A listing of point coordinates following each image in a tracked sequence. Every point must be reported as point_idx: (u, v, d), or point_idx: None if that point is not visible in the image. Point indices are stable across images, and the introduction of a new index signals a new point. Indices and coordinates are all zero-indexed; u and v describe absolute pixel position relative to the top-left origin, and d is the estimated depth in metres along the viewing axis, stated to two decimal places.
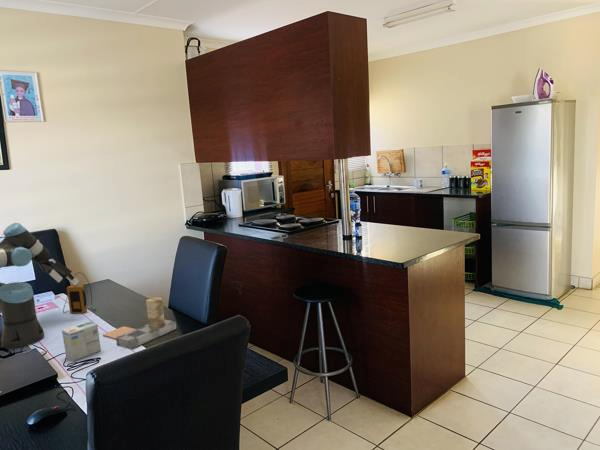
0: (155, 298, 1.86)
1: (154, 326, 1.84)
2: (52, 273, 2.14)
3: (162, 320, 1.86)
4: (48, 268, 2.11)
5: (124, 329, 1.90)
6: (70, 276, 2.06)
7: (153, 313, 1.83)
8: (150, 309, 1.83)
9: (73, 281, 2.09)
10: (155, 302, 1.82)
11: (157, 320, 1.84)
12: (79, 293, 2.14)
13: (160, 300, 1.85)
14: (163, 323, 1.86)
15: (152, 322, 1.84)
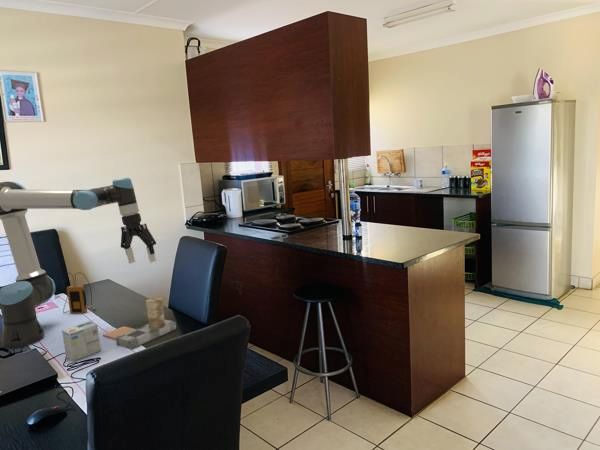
0: (155, 298, 1.86)
1: (154, 326, 1.84)
2: (129, 250, 1.98)
3: (162, 320, 1.86)
4: (129, 242, 1.97)
5: (124, 329, 1.90)
6: (152, 249, 1.90)
7: (153, 313, 1.83)
8: (150, 309, 1.83)
9: (151, 257, 1.91)
10: (155, 302, 1.82)
11: (157, 320, 1.84)
12: (79, 293, 2.14)
13: (160, 300, 1.85)
14: (163, 323, 1.86)
15: (152, 322, 1.84)
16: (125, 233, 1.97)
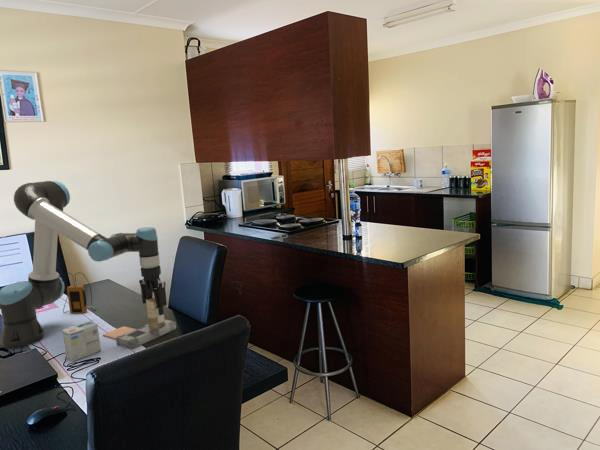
0: None
1: (154, 326, 1.84)
2: None
3: None
4: (149, 296, 1.85)
5: (124, 329, 1.90)
6: (161, 310, 1.83)
7: (153, 313, 1.83)
8: (150, 309, 1.83)
9: (159, 317, 1.84)
10: (155, 302, 1.82)
11: None
12: (79, 293, 2.14)
13: None
14: (163, 323, 1.86)
15: (152, 322, 1.84)
16: (144, 286, 1.86)
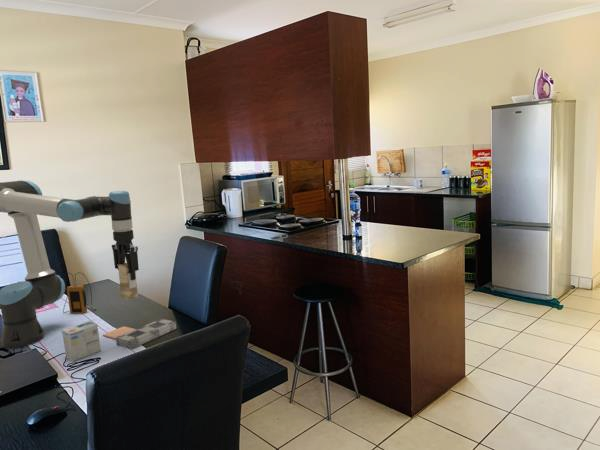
0: None
1: (126, 291, 1.82)
2: None
3: None
4: (122, 261, 1.83)
5: (124, 329, 1.90)
6: (133, 275, 1.81)
7: (124, 278, 1.81)
8: (122, 274, 1.81)
9: (131, 283, 1.82)
10: (127, 267, 1.81)
11: None
12: (79, 293, 2.14)
13: None
14: (135, 289, 1.84)
15: (124, 287, 1.82)
16: (117, 251, 1.84)
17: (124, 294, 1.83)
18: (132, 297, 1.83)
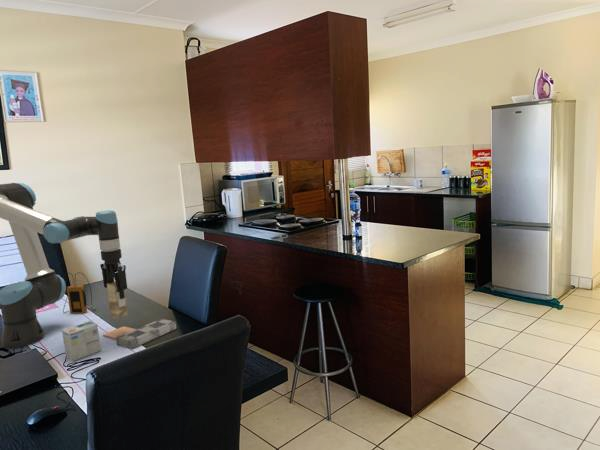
0: None
1: (115, 310, 1.83)
2: None
3: None
4: (110, 280, 1.85)
5: (124, 329, 1.90)
6: (122, 293, 1.82)
7: (113, 297, 1.82)
8: (111, 293, 1.82)
9: (120, 301, 1.83)
10: (116, 286, 1.82)
11: None
12: (79, 293, 2.14)
13: None
14: (124, 307, 1.86)
15: (113, 306, 1.83)
16: (106, 270, 1.86)
17: (114, 312, 1.84)
18: (121, 315, 1.84)
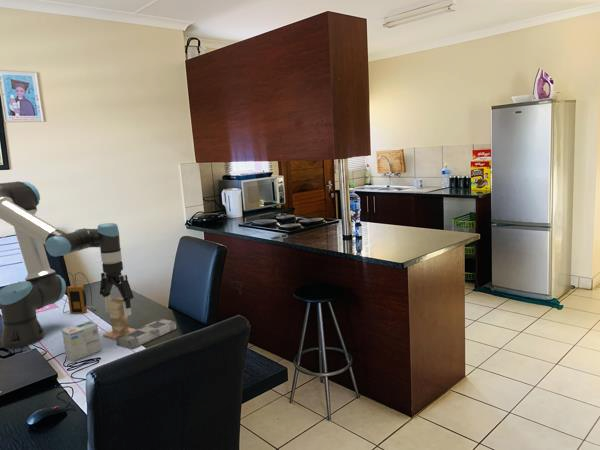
0: (118, 298, 1.86)
1: (117, 326, 1.84)
2: (107, 298, 1.88)
3: (125, 320, 1.86)
4: (108, 289, 1.87)
5: None
6: (128, 303, 1.81)
7: (115, 313, 1.83)
8: (113, 309, 1.84)
9: (126, 311, 1.82)
10: (117, 302, 1.83)
11: (119, 321, 1.84)
12: (79, 293, 2.14)
13: None
14: (126, 323, 1.87)
15: (115, 322, 1.84)
16: (105, 280, 1.87)
17: (115, 329, 1.85)
18: (123, 332, 1.86)
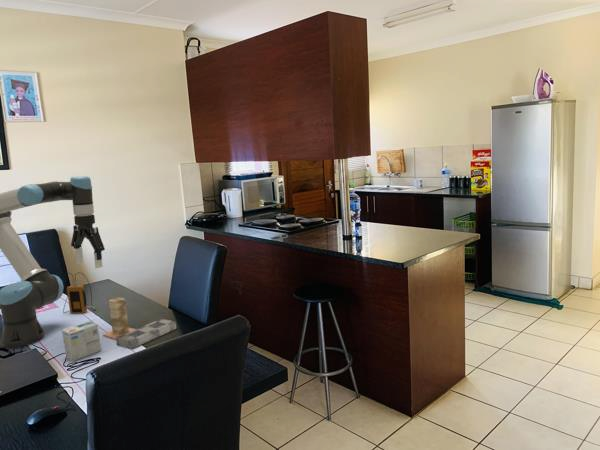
0: (118, 298, 1.86)
1: (117, 326, 1.84)
2: (78, 250, 1.91)
3: (125, 320, 1.86)
4: (79, 242, 1.89)
5: None
6: (99, 254, 1.83)
7: (115, 313, 1.83)
8: (113, 309, 1.84)
9: (97, 262, 1.84)
10: (117, 302, 1.83)
11: (119, 321, 1.84)
12: (79, 293, 2.14)
13: (123, 300, 1.85)
14: (126, 323, 1.87)
15: (115, 322, 1.84)
16: (77, 232, 1.89)
17: (116, 329, 1.85)
18: (123, 332, 1.86)
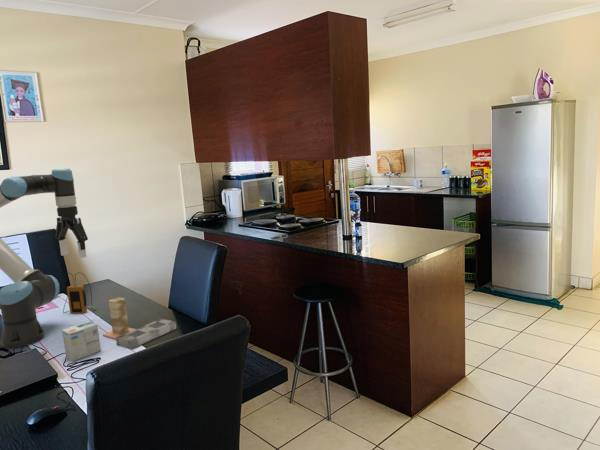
0: (118, 298, 1.86)
1: (117, 326, 1.84)
2: (62, 242, 1.94)
3: (125, 320, 1.86)
4: (63, 233, 1.93)
5: None
6: (82, 244, 1.86)
7: (115, 313, 1.83)
8: (113, 309, 1.84)
9: (81, 252, 1.87)
10: (117, 302, 1.83)
11: (119, 321, 1.84)
12: (79, 293, 2.14)
13: (123, 300, 1.85)
14: (126, 323, 1.87)
15: (115, 322, 1.84)
16: (60, 224, 1.93)
17: (116, 329, 1.85)
18: (123, 332, 1.86)
